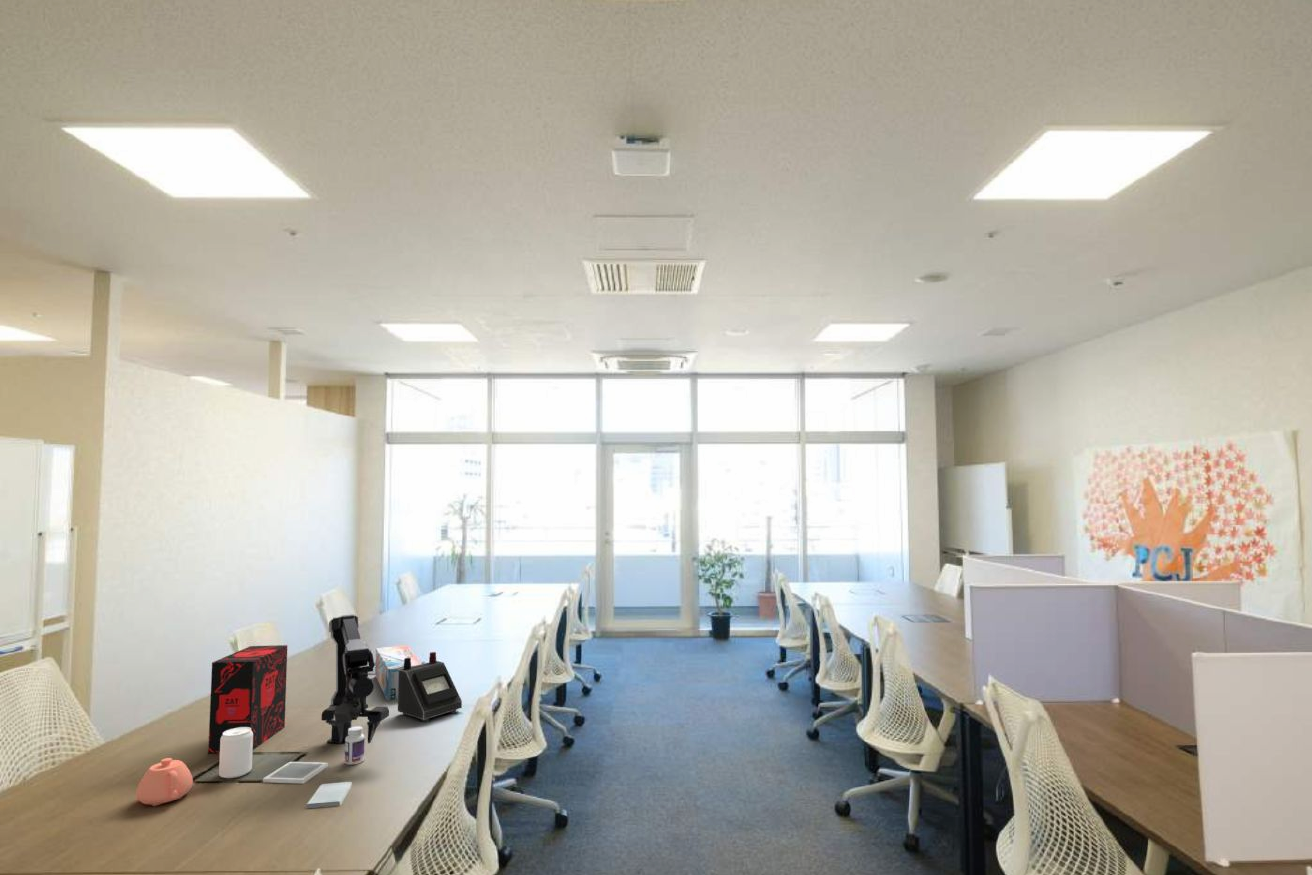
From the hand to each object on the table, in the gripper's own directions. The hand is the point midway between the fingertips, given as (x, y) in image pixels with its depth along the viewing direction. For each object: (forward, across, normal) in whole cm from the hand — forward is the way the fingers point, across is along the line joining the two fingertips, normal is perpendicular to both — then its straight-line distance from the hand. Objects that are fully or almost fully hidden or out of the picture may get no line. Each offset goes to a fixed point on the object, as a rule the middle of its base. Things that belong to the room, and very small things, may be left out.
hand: (354, 742), depth 205 cm
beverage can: (+6, -30, -11) cm, 32 cm away
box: (+6, -45, +15) cm, 48 cm away
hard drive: (+6, +6, -23) cm, 25 cm away
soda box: (+6, -25, +79) cm, 83 cm away
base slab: (+6, -12, -10) cm, 17 cm away
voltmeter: (+6, +4, +45) cm, 45 cm away
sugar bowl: (+6, -37, -28) cm, 47 cm away
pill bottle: (+6, 0, 0) cm, 6 cm away
